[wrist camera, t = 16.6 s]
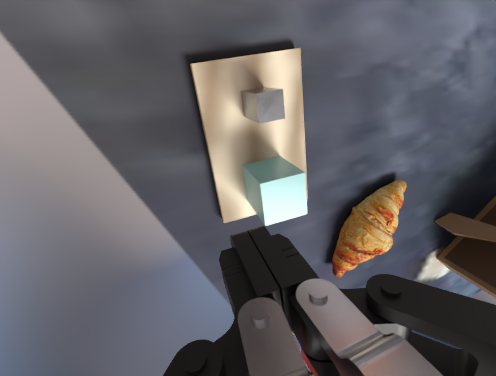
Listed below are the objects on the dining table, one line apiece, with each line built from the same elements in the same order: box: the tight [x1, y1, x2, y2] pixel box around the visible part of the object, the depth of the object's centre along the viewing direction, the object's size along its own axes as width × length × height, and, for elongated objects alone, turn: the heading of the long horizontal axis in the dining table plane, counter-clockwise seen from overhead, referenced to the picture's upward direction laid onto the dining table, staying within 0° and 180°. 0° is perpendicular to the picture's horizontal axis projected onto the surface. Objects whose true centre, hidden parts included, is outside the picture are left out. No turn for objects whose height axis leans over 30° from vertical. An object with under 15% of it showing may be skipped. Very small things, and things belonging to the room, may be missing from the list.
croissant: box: [332, 180, 407, 277], centre depth 49 cm, size 21×10×8 cm, turn 147°
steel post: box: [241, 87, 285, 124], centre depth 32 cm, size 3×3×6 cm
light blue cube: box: [242, 156, 307, 226], centre depth 36 cm, size 6×6×8 cm
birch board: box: [190, 48, 308, 223], centre depth 38 cm, size 14×22×2 cm, turn 8°
